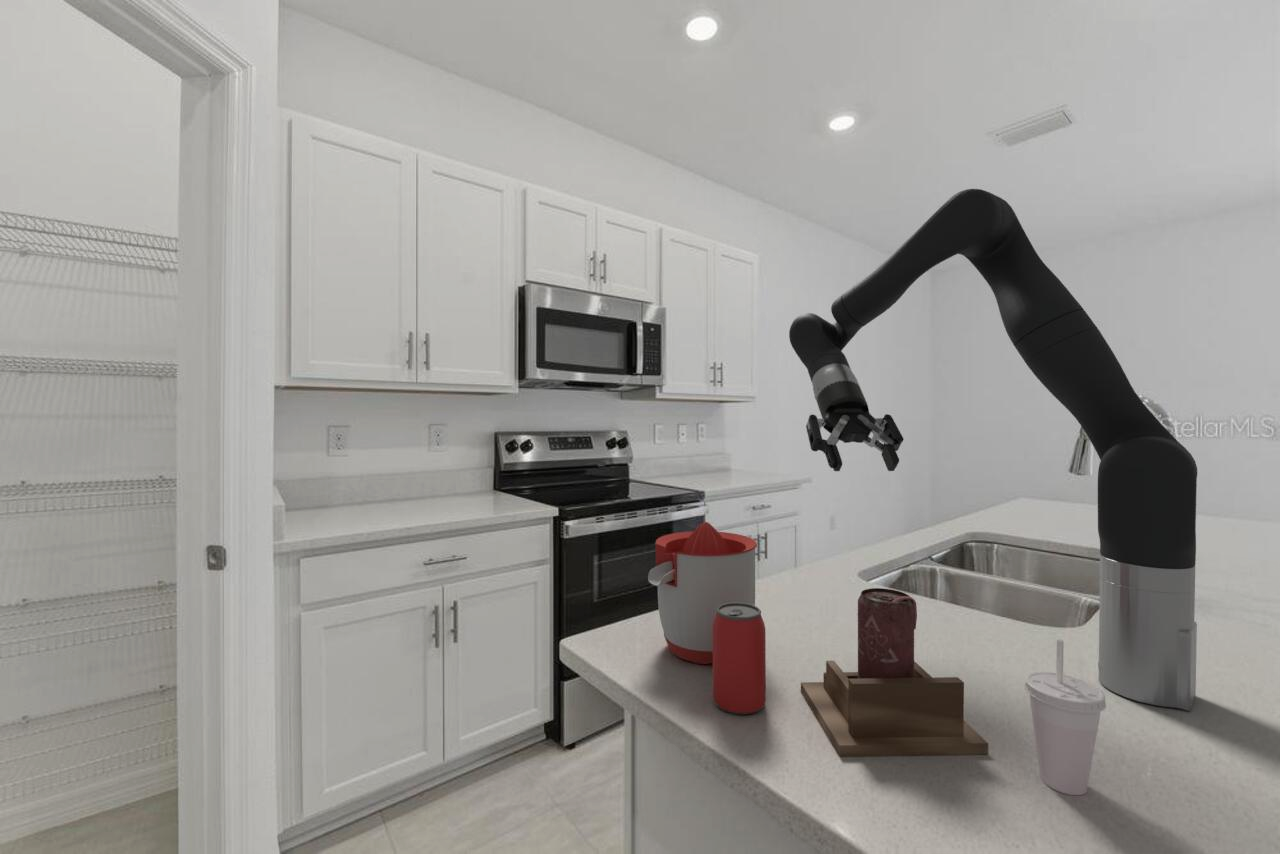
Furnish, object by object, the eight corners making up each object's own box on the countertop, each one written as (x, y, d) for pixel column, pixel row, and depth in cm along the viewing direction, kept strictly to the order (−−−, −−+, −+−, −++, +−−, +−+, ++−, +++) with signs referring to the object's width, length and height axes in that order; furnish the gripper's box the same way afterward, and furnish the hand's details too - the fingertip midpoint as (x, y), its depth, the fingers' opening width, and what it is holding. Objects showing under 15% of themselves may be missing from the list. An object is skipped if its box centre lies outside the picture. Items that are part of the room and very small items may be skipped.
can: (923, 727, 63) (923, 604, 63) (863, 722, 65) (863, 601, 64) (908, 700, 69) (909, 587, 69) (854, 695, 71) (854, 585, 70)
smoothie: (1068, 761, 59) (1070, 629, 59) (1123, 804, 53) (1125, 656, 52) (1009, 763, 59) (1010, 630, 58) (1056, 806, 52) (1058, 657, 52)
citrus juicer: (629, 643, 90) (627, 519, 90) (718, 623, 98) (717, 509, 98) (679, 685, 76) (678, 538, 76) (779, 658, 84) (778, 525, 84)
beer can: (702, 703, 71) (701, 609, 71) (733, 685, 76) (732, 597, 76) (745, 723, 67) (745, 623, 66) (775, 703, 71) (775, 609, 71)
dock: (800, 691, 74) (800, 637, 74) (921, 689, 74) (921, 635, 74) (839, 756, 60) (839, 690, 60) (988, 754, 60) (988, 687, 60)
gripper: (802, 379, 95) (826, 452, 84) (886, 379, 95) (921, 451, 84) (793, 410, 100) (814, 483, 89) (872, 410, 101) (903, 482, 90)
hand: (866, 468), depth 87 cm, fingers open, 8 cm apart
